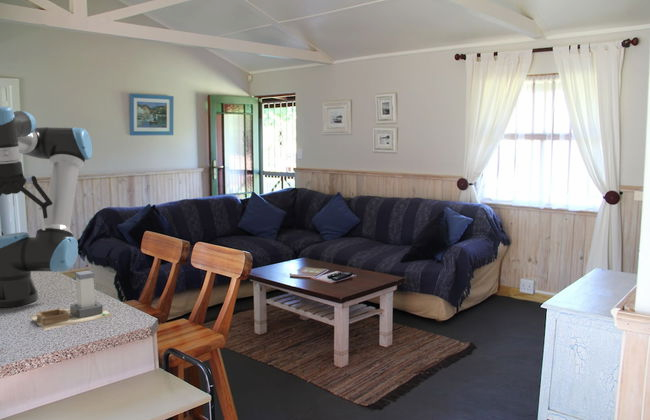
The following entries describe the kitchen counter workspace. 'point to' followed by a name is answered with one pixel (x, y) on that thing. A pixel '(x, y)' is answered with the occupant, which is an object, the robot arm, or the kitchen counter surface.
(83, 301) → the plug
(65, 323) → the board
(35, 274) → the kitchen counter surface
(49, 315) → the holster
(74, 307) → the port
